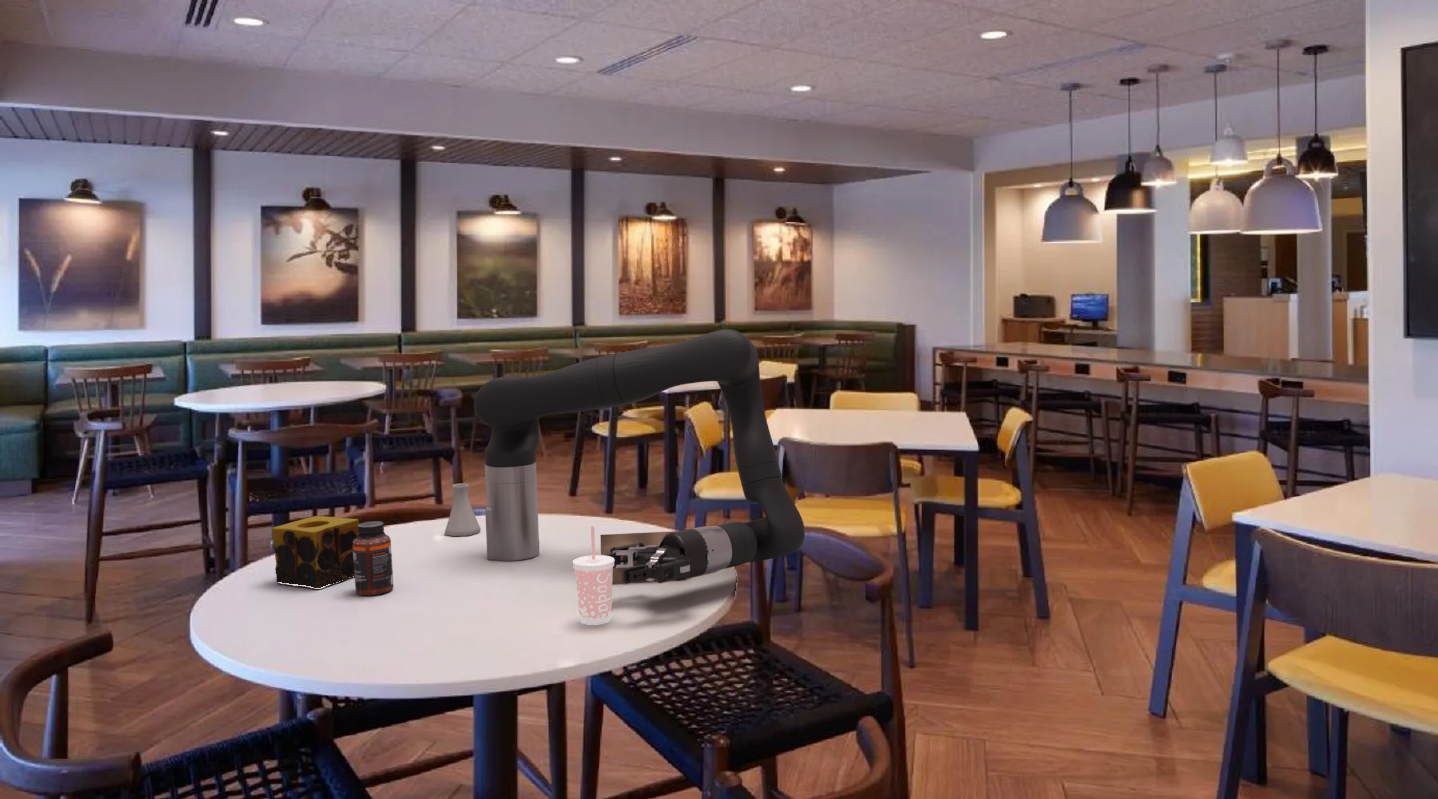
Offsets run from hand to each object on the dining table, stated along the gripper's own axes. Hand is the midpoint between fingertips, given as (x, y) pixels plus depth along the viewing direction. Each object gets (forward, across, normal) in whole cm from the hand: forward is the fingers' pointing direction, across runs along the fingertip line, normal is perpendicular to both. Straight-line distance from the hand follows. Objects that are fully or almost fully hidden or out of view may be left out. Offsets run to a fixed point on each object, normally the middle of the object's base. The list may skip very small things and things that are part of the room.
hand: (607, 570), depth 147 cm
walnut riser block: (-17, -18, +7) cm, 26 cm away
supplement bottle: (+23, -36, +7) cm, 43 cm away
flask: (-4, -65, +7) cm, 66 cm away
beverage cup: (+2, 0, +7) cm, 8 cm away
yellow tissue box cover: (+28, -50, +7) cm, 57 cm away
